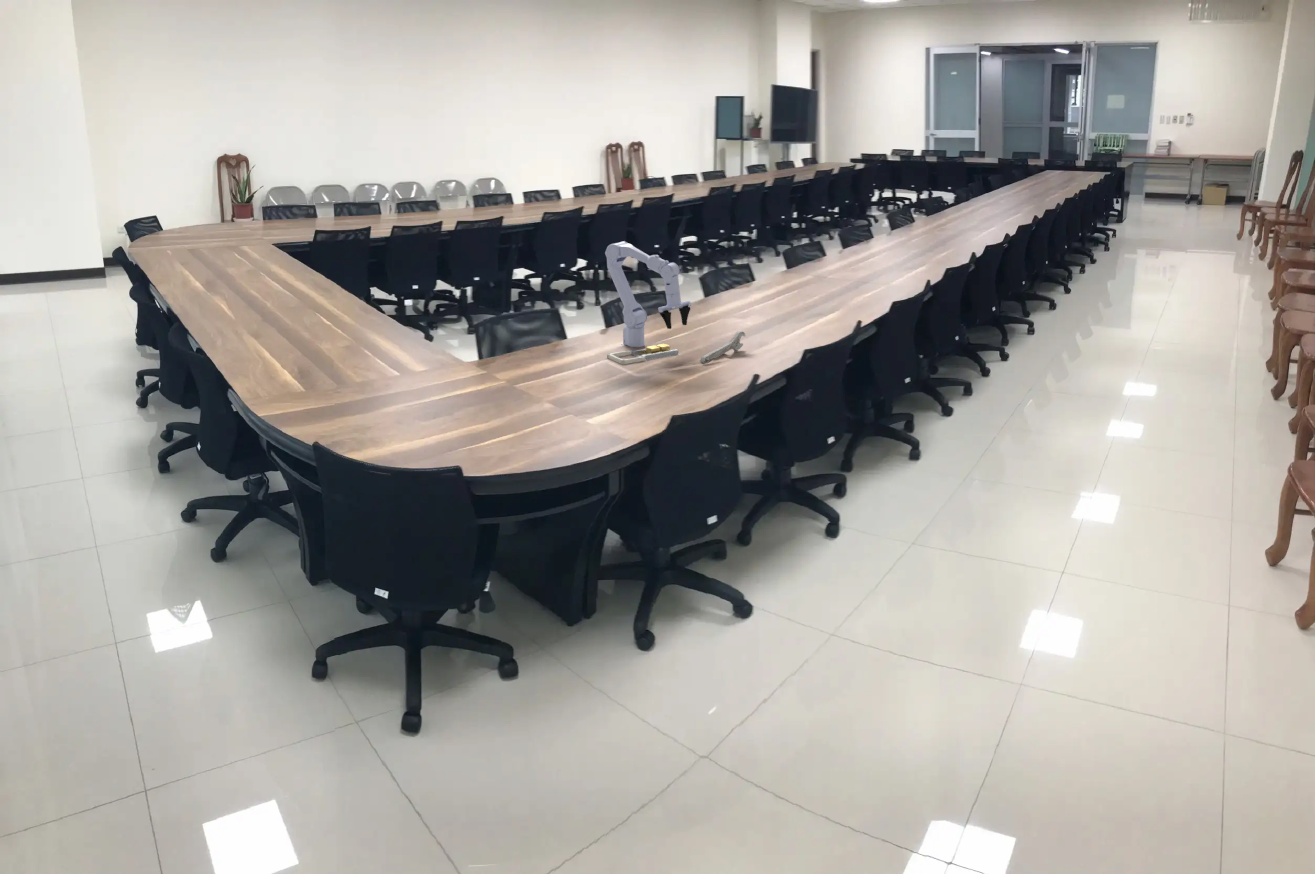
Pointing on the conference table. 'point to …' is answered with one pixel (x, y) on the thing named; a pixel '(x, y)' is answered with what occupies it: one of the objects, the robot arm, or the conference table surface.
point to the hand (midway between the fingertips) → (677, 326)
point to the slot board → (654, 354)
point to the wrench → (725, 348)
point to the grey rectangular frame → (615, 357)
